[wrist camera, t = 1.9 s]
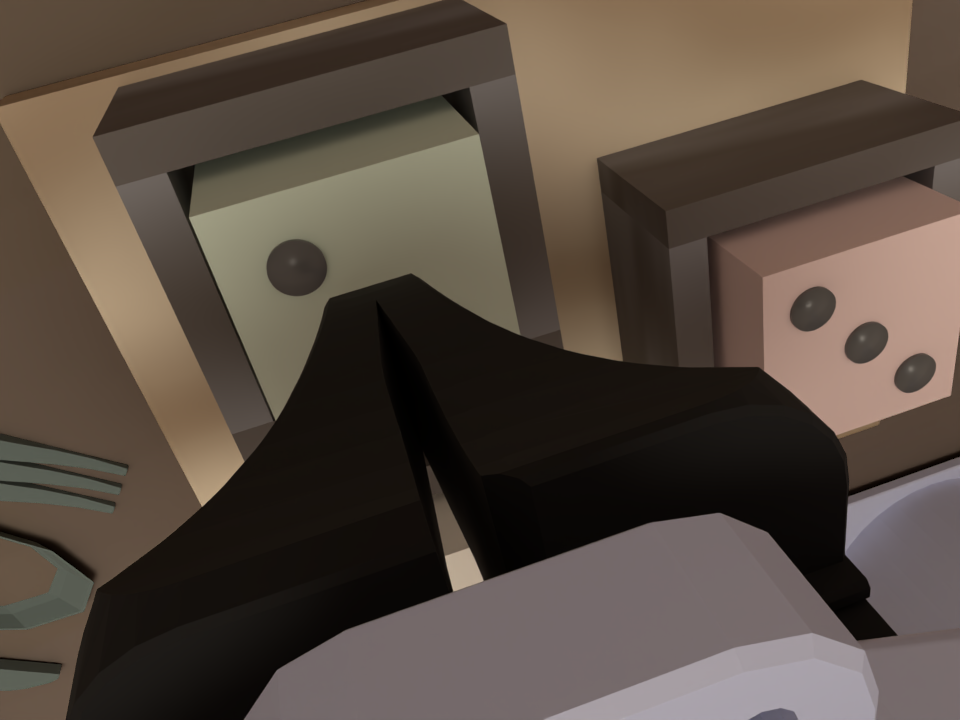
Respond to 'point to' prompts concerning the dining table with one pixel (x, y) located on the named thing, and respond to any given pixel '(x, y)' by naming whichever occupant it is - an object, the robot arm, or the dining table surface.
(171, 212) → the console
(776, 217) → the tile three
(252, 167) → the tile two
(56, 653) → the dining table surface
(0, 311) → the dining table surface
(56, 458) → the cutlery set
